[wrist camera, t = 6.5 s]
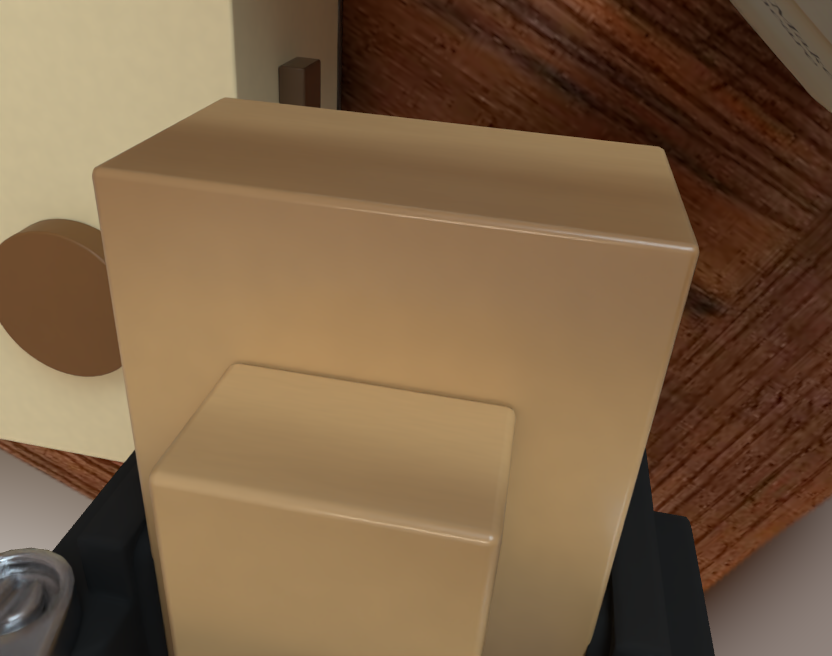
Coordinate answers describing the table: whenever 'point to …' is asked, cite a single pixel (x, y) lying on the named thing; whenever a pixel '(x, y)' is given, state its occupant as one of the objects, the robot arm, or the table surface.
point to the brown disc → (59, 297)
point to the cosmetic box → (797, 39)
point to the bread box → (126, 141)
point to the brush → (388, 374)
